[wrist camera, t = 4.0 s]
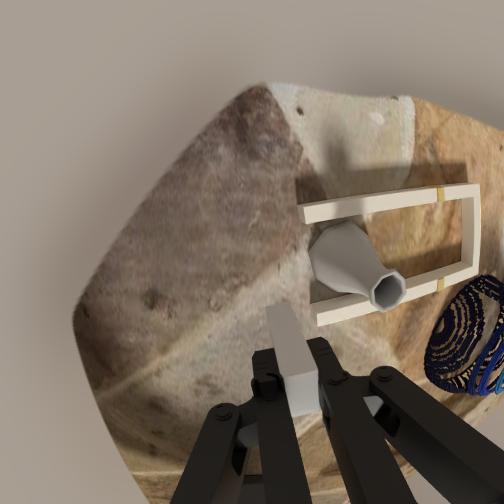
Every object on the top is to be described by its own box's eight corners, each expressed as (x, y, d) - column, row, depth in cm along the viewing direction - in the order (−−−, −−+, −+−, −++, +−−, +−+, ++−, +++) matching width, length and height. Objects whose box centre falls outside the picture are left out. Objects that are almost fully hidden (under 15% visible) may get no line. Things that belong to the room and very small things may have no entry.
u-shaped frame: (311, 315, 29) (318, 328, 26) (296, 203, 26) (303, 205, 23) (466, 269, 29) (479, 275, 26) (466, 181, 26) (480, 182, 23)
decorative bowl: (464, 258, 29) (540, 293, 15) (512, 289, 32) (563, 318, 18) (402, 379, 33) (449, 442, 19) (464, 381, 36) (503, 423, 22)
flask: (295, 249, 27) (326, 285, 17) (351, 207, 26) (407, 222, 17) (330, 301, 29) (368, 351, 19) (381, 262, 28) (435, 296, 18)
